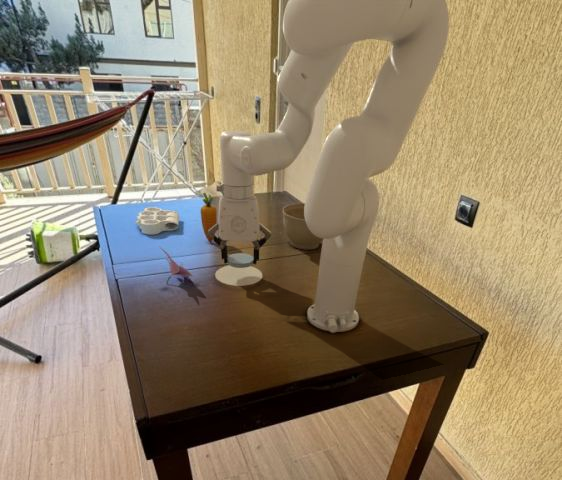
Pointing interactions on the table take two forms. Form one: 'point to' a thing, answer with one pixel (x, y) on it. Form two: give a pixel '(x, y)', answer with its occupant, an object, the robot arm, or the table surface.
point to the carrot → (208, 216)
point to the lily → (177, 269)
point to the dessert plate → (238, 275)
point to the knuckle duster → (157, 220)
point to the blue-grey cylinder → (240, 260)
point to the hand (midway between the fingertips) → (240, 261)
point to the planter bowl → (298, 227)
